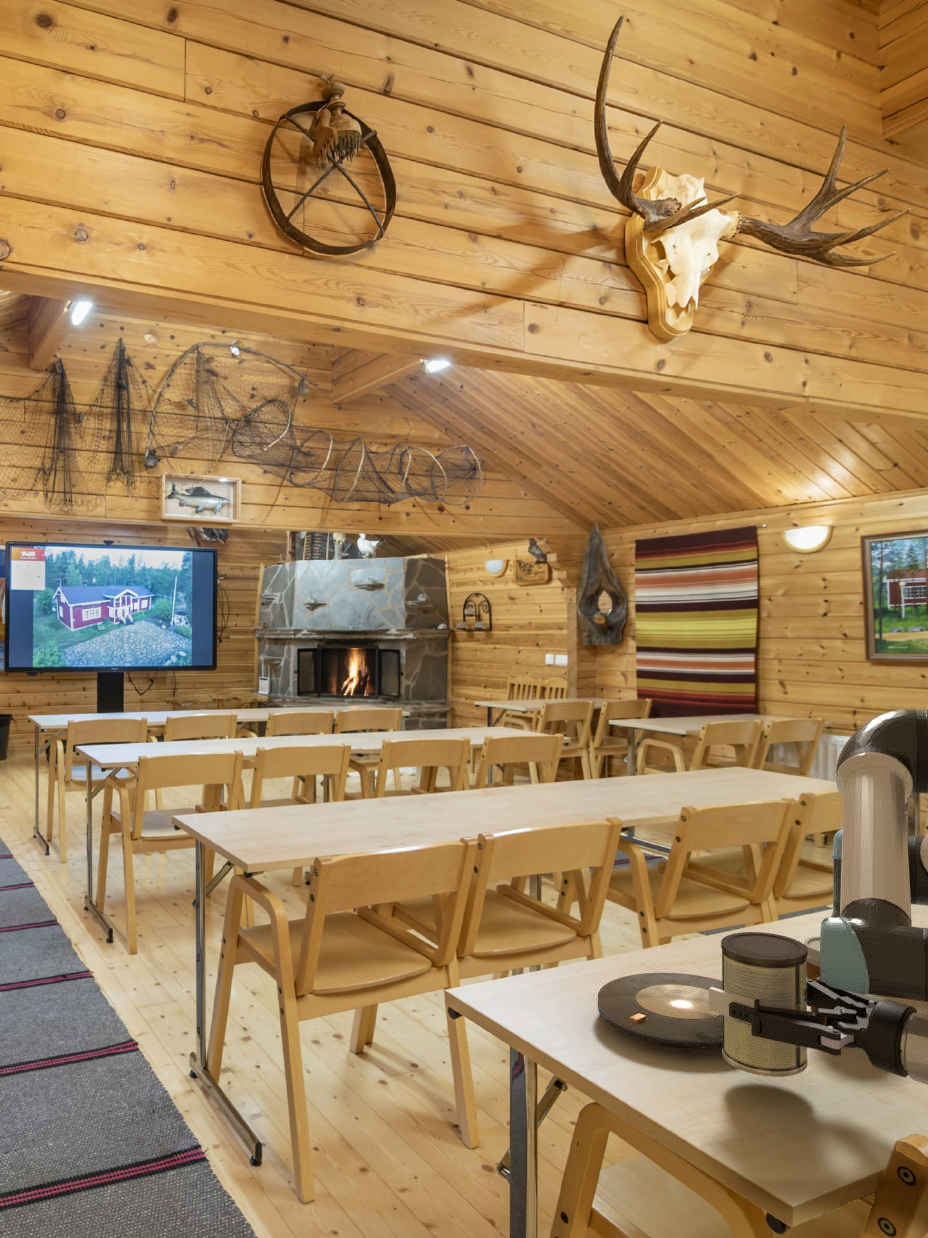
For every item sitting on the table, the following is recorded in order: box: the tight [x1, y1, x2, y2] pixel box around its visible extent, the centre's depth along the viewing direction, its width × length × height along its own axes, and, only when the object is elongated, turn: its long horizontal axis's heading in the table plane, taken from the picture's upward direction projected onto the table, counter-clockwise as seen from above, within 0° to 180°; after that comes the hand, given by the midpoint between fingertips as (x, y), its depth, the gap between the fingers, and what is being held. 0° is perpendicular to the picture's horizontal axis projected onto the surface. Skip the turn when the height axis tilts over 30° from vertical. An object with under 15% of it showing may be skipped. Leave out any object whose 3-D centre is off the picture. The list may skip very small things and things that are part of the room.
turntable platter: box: [597, 972, 723, 1049], centre depth 136 cm, size 24×24×2 cm
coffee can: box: [720, 931, 809, 1078], centre depth 117 cm, size 10×10×14 cm
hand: (733, 987), depth 120 cm, fingers closed on coffee can, 10 cm apart
